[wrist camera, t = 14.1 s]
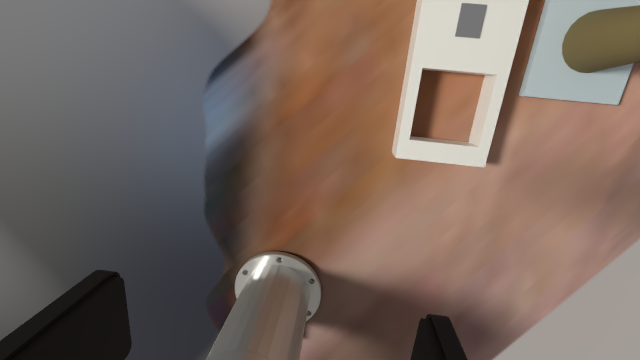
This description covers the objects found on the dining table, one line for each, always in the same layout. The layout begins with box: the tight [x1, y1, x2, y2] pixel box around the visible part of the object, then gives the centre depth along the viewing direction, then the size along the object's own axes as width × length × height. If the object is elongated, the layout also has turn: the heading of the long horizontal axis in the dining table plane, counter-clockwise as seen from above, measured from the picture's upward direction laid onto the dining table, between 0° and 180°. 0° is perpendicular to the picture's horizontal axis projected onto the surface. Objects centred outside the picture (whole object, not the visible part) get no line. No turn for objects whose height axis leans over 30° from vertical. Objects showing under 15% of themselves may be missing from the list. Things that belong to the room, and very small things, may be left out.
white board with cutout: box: [392, 0, 529, 167], centre depth 33 cm, size 24×10×3 cm, turn 175°
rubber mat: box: [519, 0, 640, 105], centre depth 32 cm, size 12×10×1 cm
